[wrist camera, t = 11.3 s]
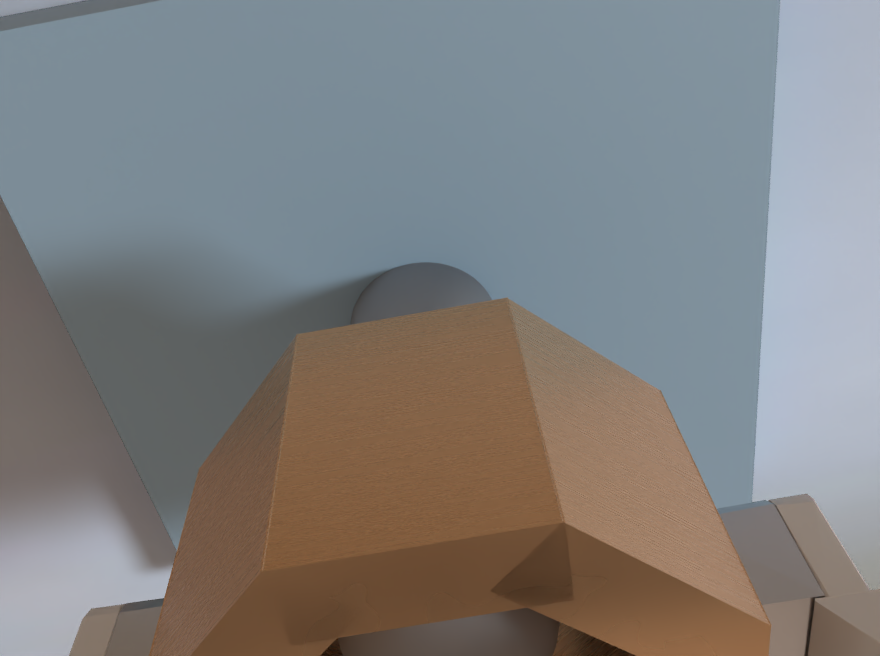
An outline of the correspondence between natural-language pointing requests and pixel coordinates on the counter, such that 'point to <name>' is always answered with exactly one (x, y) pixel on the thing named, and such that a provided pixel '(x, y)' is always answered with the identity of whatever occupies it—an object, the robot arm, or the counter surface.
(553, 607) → the copper ring
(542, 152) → the post base
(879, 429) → the counter surface
